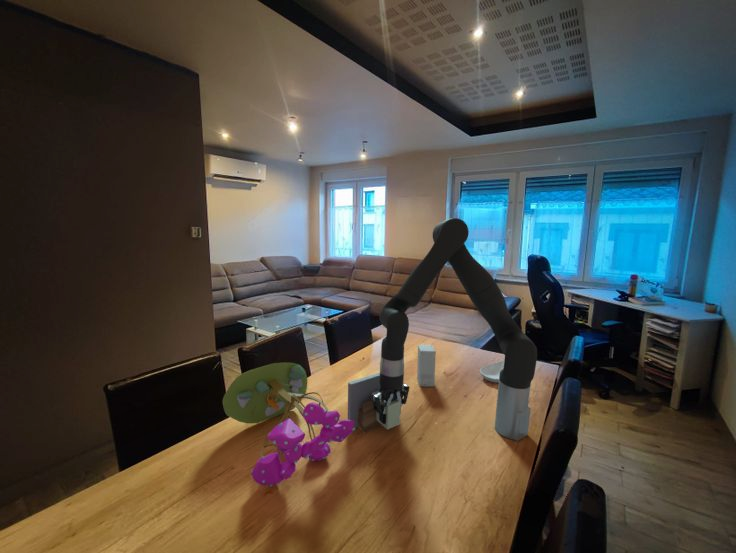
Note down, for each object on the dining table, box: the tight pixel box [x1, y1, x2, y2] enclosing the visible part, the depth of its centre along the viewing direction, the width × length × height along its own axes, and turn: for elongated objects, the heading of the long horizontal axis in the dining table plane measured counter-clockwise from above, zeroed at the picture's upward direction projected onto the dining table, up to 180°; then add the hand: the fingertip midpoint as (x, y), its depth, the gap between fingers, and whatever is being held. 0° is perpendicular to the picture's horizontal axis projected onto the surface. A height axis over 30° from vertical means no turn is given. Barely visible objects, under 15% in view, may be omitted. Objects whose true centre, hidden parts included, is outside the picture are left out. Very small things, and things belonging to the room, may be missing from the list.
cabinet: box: [371, 390, 401, 430], centre depth 104 cm, size 9×5×8 cm, turn 35°
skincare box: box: [416, 344, 437, 388], centre depth 136 cm, size 8×7×16 cm
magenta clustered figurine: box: [222, 362, 356, 487], centre depth 93 cm, size 30×28×35 cm
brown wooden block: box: [357, 400, 383, 434], centre depth 107 cm, size 4×14×10 cm, turn 125°
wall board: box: [347, 372, 381, 429], centre depth 109 cm, size 2×20×16 cm, turn 125°
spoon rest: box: [479, 358, 505, 384], centre depth 144 cm, size 24×12×7 cm, turn 122°
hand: (390, 419), depth 103 cm, fingers closed on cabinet, 5 cm apart
